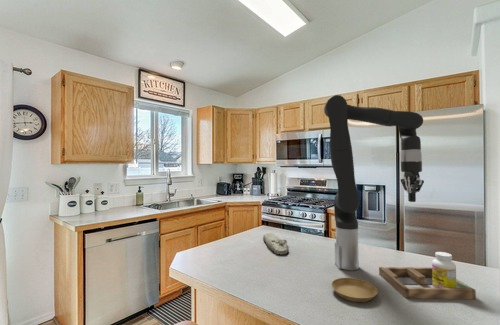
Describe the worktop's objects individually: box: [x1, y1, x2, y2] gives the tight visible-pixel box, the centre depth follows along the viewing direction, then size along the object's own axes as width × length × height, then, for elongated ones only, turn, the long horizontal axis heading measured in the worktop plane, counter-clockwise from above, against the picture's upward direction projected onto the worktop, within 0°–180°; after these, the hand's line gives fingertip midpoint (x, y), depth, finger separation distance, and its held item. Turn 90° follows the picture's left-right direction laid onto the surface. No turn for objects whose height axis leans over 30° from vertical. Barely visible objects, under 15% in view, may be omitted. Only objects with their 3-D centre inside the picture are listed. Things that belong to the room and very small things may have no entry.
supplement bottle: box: [431, 251, 457, 288], centre depth 88 cm, size 7×7×13 cm
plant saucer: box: [330, 277, 378, 303], centre depth 86 cm, size 15×15×3 cm
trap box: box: [378, 266, 477, 300], centre depth 92 cm, size 22×18×3 cm
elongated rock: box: [262, 232, 290, 256], centre depth 141 cm, size 35×5×10 cm
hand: (412, 201), depth 105 cm, fingers closed
